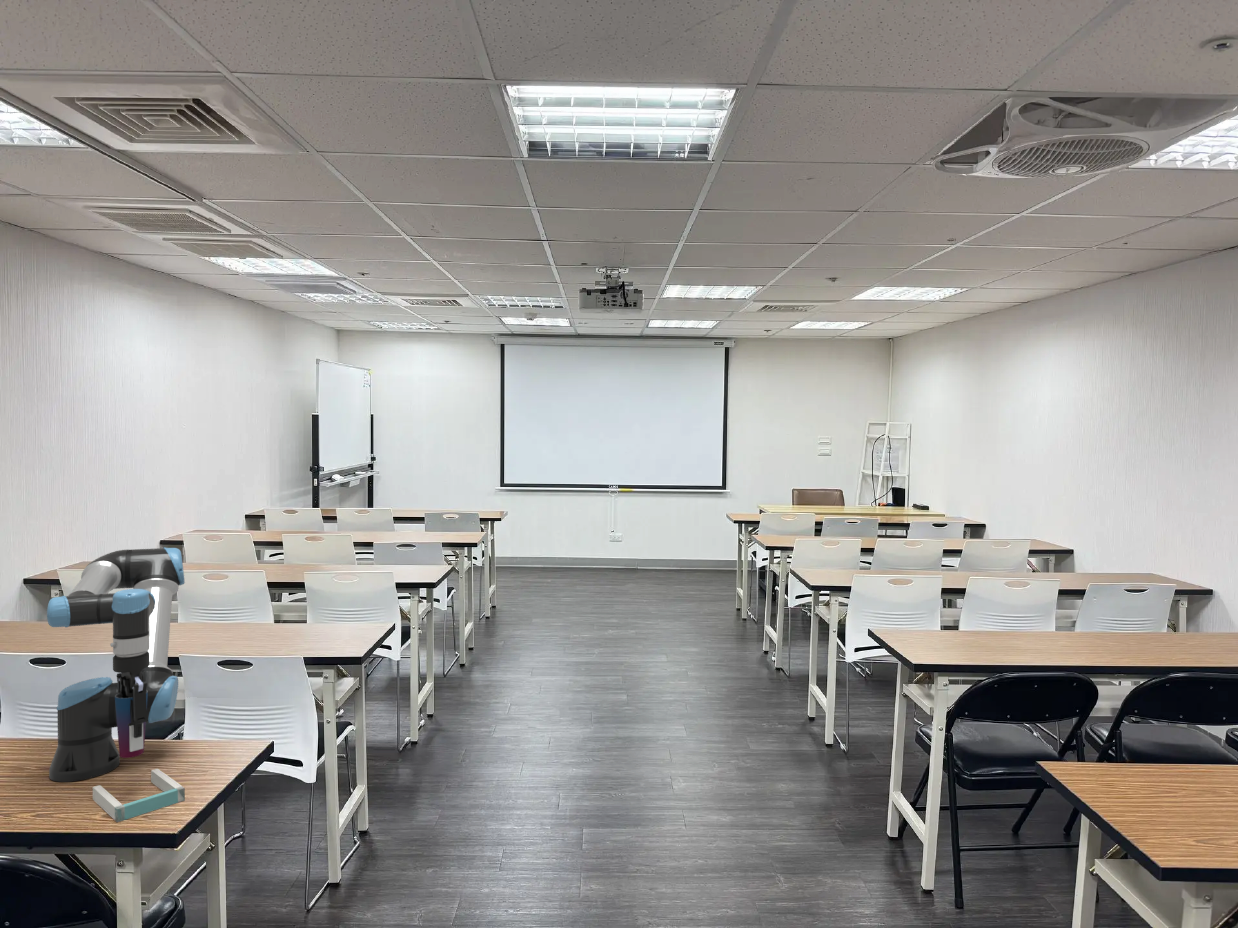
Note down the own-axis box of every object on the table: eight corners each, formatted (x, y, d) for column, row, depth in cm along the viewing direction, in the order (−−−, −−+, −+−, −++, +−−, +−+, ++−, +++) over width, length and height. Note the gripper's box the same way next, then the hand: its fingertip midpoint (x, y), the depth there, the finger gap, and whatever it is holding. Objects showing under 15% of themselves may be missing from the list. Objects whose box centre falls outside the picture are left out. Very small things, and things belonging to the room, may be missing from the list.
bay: (92, 799, 176) (92, 786, 176) (157, 779, 187) (157, 768, 187) (117, 822, 165) (117, 808, 165) (184, 800, 176) (184, 787, 176)
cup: (131, 760, 176) (131, 698, 176) (108, 758, 177) (107, 696, 177) (154, 749, 182) (154, 689, 182) (131, 747, 184) (131, 688, 184)
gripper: (101, 649, 183) (101, 740, 183) (126, 663, 170) (127, 761, 171) (135, 643, 188) (136, 731, 189) (162, 656, 176) (163, 751, 177)
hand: (131, 745), depth 180 cm, fingers closed on cup, 6 cm apart
